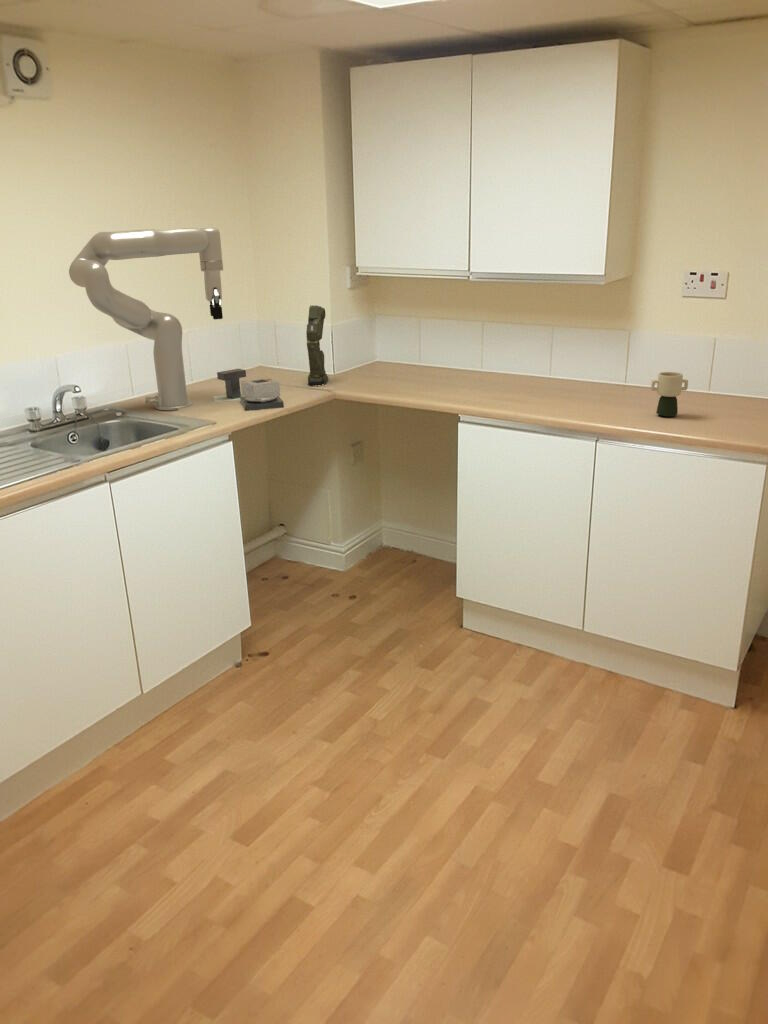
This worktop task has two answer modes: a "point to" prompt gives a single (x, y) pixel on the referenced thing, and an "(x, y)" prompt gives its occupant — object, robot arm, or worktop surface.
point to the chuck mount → (262, 404)
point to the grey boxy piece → (260, 389)
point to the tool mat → (224, 398)
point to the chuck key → (232, 381)
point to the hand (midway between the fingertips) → (216, 317)
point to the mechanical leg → (316, 346)
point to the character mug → (668, 392)
